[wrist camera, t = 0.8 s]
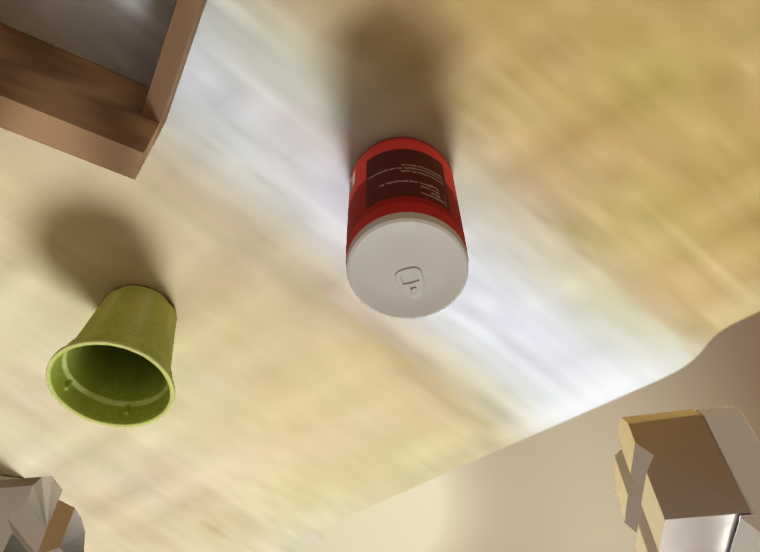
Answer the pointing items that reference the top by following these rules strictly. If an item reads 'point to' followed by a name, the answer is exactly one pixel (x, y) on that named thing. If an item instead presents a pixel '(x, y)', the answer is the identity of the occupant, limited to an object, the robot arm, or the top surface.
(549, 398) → the top surface
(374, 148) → the canned food
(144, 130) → the brown wooden frame
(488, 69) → the top surface
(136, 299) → the plant pot
